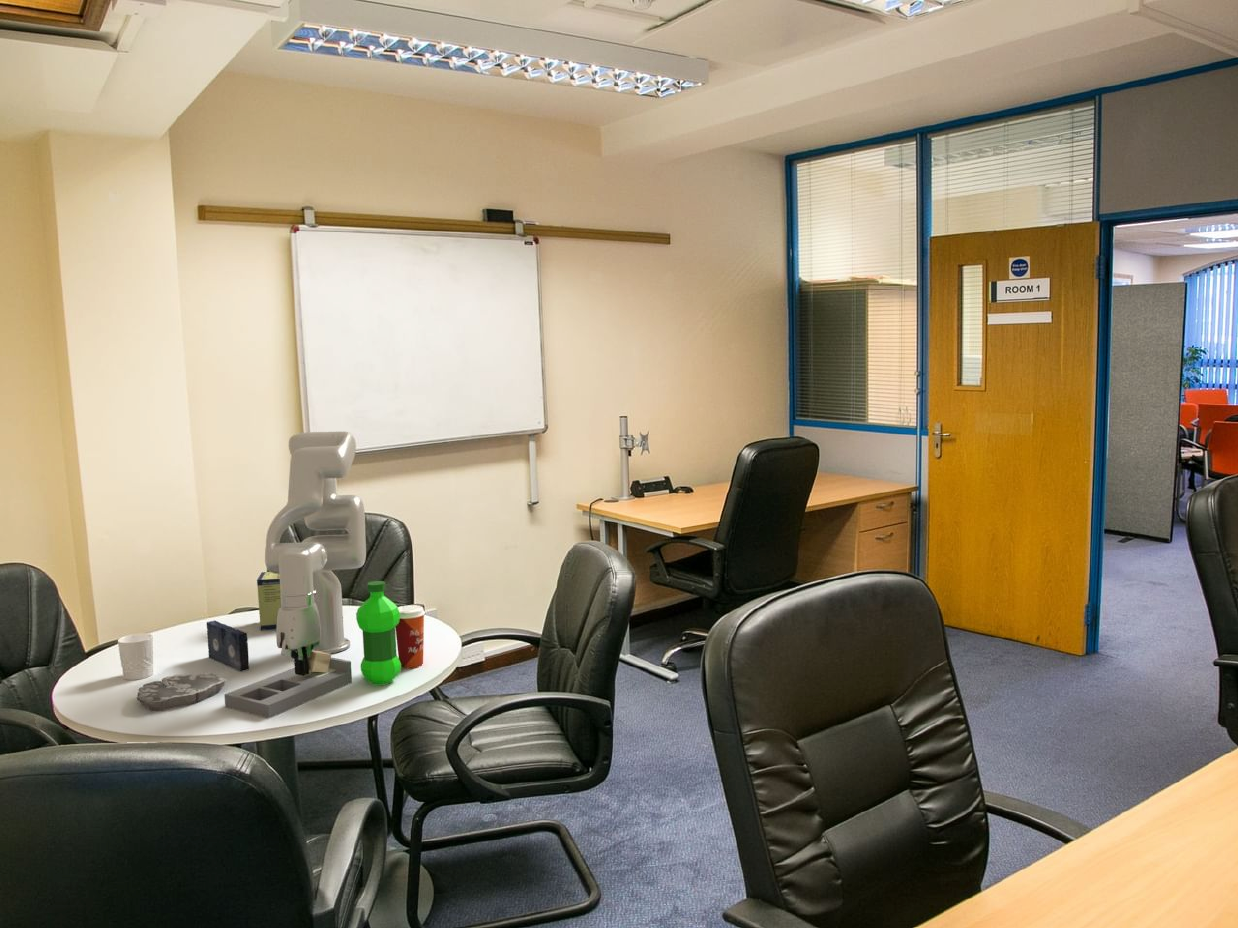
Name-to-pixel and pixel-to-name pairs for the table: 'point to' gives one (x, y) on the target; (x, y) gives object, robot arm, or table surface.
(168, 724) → the table surface
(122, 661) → the white cup
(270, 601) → the protein box
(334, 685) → the box
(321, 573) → the robot arm
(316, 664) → the birch block
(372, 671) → the plastic bottle
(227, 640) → the vhs cassette tape
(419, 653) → the coffee cup
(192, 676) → the brain slice
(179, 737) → the table surface
